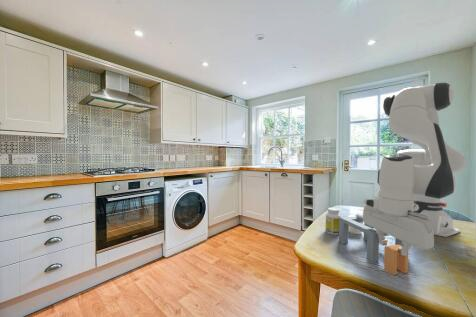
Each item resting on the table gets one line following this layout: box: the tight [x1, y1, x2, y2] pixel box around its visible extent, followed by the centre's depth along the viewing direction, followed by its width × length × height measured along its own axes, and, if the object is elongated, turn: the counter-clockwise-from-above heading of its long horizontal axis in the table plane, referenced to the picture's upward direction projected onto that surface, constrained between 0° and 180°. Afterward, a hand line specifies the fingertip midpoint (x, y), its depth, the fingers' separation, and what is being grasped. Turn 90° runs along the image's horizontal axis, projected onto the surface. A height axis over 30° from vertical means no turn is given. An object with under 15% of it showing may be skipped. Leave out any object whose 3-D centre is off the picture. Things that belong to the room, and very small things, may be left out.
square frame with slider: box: [338, 213, 404, 263], centre depth 77 cm, size 15×16×12 cm
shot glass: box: [346, 214, 364, 235], centre depth 94 cm, size 7×7×7 cm
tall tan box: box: [383, 244, 409, 276], centre depth 63 cm, size 6×3×8 cm, turn 103°
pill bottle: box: [325, 207, 342, 236], centre depth 92 cm, size 6×6×11 cm
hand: (392, 249), depth 64 cm, fingers open, 5 cm apart
